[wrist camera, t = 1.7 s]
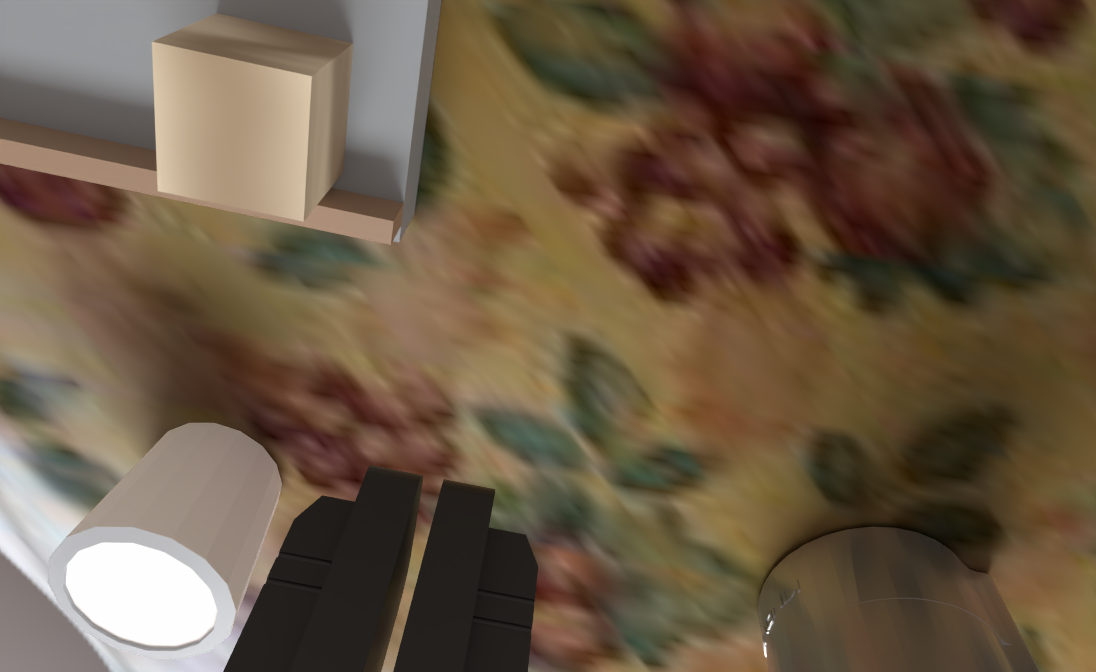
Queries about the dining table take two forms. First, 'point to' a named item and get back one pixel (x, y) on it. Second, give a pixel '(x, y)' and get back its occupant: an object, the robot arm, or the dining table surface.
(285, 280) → the dining table surface
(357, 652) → the robot arm
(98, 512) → the beige cylinder
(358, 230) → the trap box
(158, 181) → the birch block
